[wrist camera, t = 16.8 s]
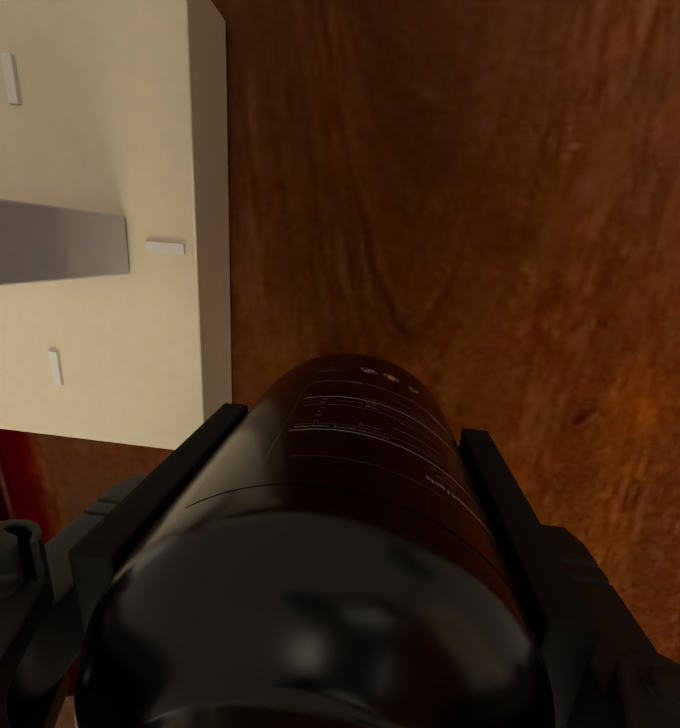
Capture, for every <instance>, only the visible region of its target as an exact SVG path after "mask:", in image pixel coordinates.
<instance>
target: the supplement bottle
mask: <svg viewBox="0 0 680 728" xmlns="http://www.w3.org/2000/svg"><path fill="white" fill-rule="evenodd" d="M74 707H75V726H76V728H556V719H555V707H554V697H553V691H552V686H551V681H550V677H549V673H548V669H547V666H546V663H545V660H544V657H543V654H542V651H541V649H540V646H539V644H538V641H537V638H536V634H535V632H534V629H533V627H532V624H531V622H530V619H529V616H528V614H527V611H526V609H525V607H524V604H523V602H522V599H521V597H520V594H519V592H518V590H517V587H516V585H515V582H514V580H513V578H512V575H511V573H510V570H509V568H508V566H507V563H506V561H505V558H504V556H503V554H502V551H501V549H500V546H499V544H498V542H497V539H496V537H495V534H494V532H493V530H492V527H491V525H490V522H489V520H488V518H487V515H486V513H485V510H484V508H483V506H482V503H481V501H480V498H479V496H478V494H477V491H476V489H475V486H474V484H473V482H472V479H471V477H470V474H469V472H468V470H467V467H466V465H465V462H464V460H463V458H462V455H461V453H460V450H459V448H458V446H457V443H456V441H455V438H454V436H453V434H452V431H451V429H450V426H449V424H448V422H447V420H446V418H445V416H444V414H443V412H442V410H441V408H440V406H439V405H438V403H437V402H436V400H435V399H434V397H433V396H432V394H431V393H430V392H429V391H428V390H427V388H426V387H425V386H424V385H423V384H422V383H421V382H420V381H419V380H417V379H416V378H415V377H414V376H412V375H411V374H410V373H408V372H407V371H405V370H404V369H402V368H400V367H398V366H396V365H395V364H393V363H390V362H388V361H385V360H383V359H379V358H376V357H373V356H367V355H362V354H348V353H342V354H331V355H326V356H321V357H318V358H314V359H311V360H309V361H306V362H304V363H302V364H300V365H298V366H296V367H294V368H293V369H291V370H290V371H288V372H287V373H285V374H284V375H283V376H282V377H280V378H279V379H278V380H277V381H276V382H275V383H274V384H273V385H272V386H271V387H270V388H269V389H268V390H267V391H266V392H265V393H264V395H263V396H262V397H261V398H260V399H259V400H258V401H257V403H256V404H255V405H254V406H253V407H252V408H251V410H250V411H249V412H248V413H247V414H246V416H245V417H244V418H243V419H242V420H241V422H240V423H239V424H238V425H237V426H236V427H235V429H234V430H233V431H232V432H231V433H230V435H229V436H228V437H227V438H226V439H225V441H224V442H223V443H222V444H221V445H220V447H219V448H218V449H217V450H216V451H215V452H214V454H213V455H212V456H211V457H210V458H209V460H208V461H207V462H206V463H205V464H204V466H203V467H202V468H201V469H200V470H199V471H198V473H197V474H196V475H195V476H194V477H193V479H192V480H191V481H190V482H189V483H188V485H187V486H186V487H185V488H184V489H183V491H182V492H181V493H180V494H179V495H178V496H177V498H176V499H175V500H174V501H173V502H172V504H171V505H170V506H169V507H168V508H167V510H166V511H165V512H164V513H163V514H162V516H161V517H160V518H159V519H158V520H157V521H156V523H155V524H154V525H153V526H152V527H151V529H150V530H149V531H148V532H147V533H146V535H145V536H144V537H143V538H142V539H141V541H140V542H139V543H138V544H137V546H136V547H135V548H134V549H133V551H132V552H131V553H130V555H129V556H128V557H127V558H126V560H125V561H124V563H123V564H122V565H121V567H120V568H119V569H118V571H117V572H116V573H115V575H114V576H113V577H112V579H111V580H110V582H109V583H108V585H107V586H106V588H105V590H104V592H103V593H102V595H101V597H100V598H99V600H98V602H97V604H96V606H95V609H94V611H93V614H92V616H91V619H90V621H89V624H88V627H87V630H86V633H85V636H84V640H83V644H82V648H81V652H80V656H79V661H78V666H77V673H76V683H75V694H74Z"/></svg>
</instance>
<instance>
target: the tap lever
mask: <svg viewBox="0 0 680 728" xmlns="http://www.w3.org/2000/svg"><path fill="white" fill-rule="evenodd" d="M128 274H129V265H128V253H127V241H126V228H125V218H124V216H122V215H115V214H108V213H101V212H93V211H86V210H79V209H72V208H64V207H57V206H50V205H43V204H36V203H28V202H21V201H14V200H7V199H0V286H9V285H20V284H31V283H42V282H53V281H64V280H76V279H87V278H98V277H109V276H120V275H128Z"/></svg>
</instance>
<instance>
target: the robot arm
mask: <svg viewBox="0 0 680 728" xmlns="http://www.w3.org/2000/svg"><path fill="white" fill-rule="evenodd" d="M246 414H247V405H241V404H232V403H224V404H223V405H222V406H221V407H220V408H219V409H218V410H217V411H216V412H215V413H214V414H213V415H212V416H211V417H210V418H208V419H207V420H206V421H205V422H204V423H203V424H202V425H201V426H200V427H199V428H198V429H197V430H196V431H195V432H194V433H193V434H192V435H190V436H189V437H188V438H187V439H186V440H185V441H184V442H183V443H182V444H181V445H180V446H179V447H178V448H177V449H176V450H175V451H174V452H172V453H171V454H170V455H169V456H168V457H167V458H166V459H165V460H164V461H163V462H162V463H161V464H160V465H159V466H158V467H157V468H156V469H155V470H153V471H152V472H151V473H150V474H149V475H148V476H144V475H136V474H135V475H133V476H131V477H129V478H127V479H125V480H123V481H121V482H119V483H117V484H115V485H113V486H112V487H111V488H110V489H109V490H108V491H106V492H105V493H104V494H103V495H102V496H101V497H99V498H98V501H97V502H94V503H92V504H91V505H90V506H89V507H88V508H87V509H85V510H84V513H83V514H80V515H79V516H77V517H76V518H75V519H74V520H73V521H72V522H70V523H69V524H68V525H67V526H66V527H65V528H63V529H62V530H61V531H60V532H59V533H58V534H56V535H55V536H54V537H53V538H52V539H51V540H49V541H48V542H47V543H46V544H45V545H44V540H43V534H42V531H41V528H40V526H39V524H38V523H35V522H33V521H30V520H23V519H11V520H6V521H1V522H0V728H54V726H55V724H56V721H57V718H58V716H59V713H60V711H61V708H62V705H63V703H64V700H65V698H66V695H67V692H68V687H69V682H70V677H69V672H68V669H69V667H70V666H71V665H72V663H73V662H74V661H75V659H76V658H77V657H78V655H79V654H80V652H81V648H82V644H83V640H84V636H85V633H86V630H87V627H88V624H89V621H90V619H91V616H92V614H93V611H94V609H95V606H96V604H97V602H98V600H99V598H100V597H101V595H102V593H103V592H104V590H105V588H106V586H107V585H108V583H109V582H110V580H111V579H112V577H113V576H114V575H115V573H116V572H117V571H118V569H119V568H120V567H121V565H122V564H123V563H124V561H125V560H126V558H127V557H128V556H129V555H130V553H131V552H132V551H133V549H134V548H135V547H136V546H137V544H138V543H139V542H140V541H141V539H142V538H143V537H144V536H145V535H146V533H147V532H148V531H149V530H150V529H151V527H152V526H153V525H154V524H155V523H156V521H157V520H158V519H159V518H160V517H161V516H162V514H163V513H164V512H165V511H166V510H167V508H168V507H169V506H170V505H171V504H172V502H173V501H174V500H175V499H176V498H177V496H178V495H179V494H180V493H181V492H182V491H183V489H184V488H185V487H186V486H187V485H188V483H189V482H190V481H191V480H192V479H193V477H194V476H195V475H196V474H197V473H198V471H199V470H200V469H201V468H202V467H203V466H204V464H205V463H206V462H207V461H208V460H209V458H210V457H211V456H212V455H213V454H214V452H215V451H216V450H217V449H218V448H219V447H220V445H221V444H222V443H223V442H224V441H225V439H226V438H227V437H228V436H229V435H230V433H231V432H232V431H233V430H234V429H235V427H236V426H237V425H238V424H239V423H240V422H241V420H242V419H243V418H244V417H245V416H246ZM459 450H460V453H461V455H462V458H463V460H464V462H465V465H466V467H467V470H468V472H469V474H470V477H471V479H472V482H473V484H474V486H475V489H476V491H477V494H478V496H479V498H480V501H481V503H482V506H483V508H484V510H485V513H486V515H487V518H488V520H489V522H490V525H491V527H492V530H493V532H494V534H495V537H496V539H497V542H498V544H499V546H500V549H501V551H502V554H503V556H504V558H505V561H506V563H507V566H508V568H509V570H510V573H511V575H512V578H513V580H514V582H515V585H516V587H517V590H518V592H519V594H520V597H521V599H522V602H523V604H524V607H525V609H526V611H527V614H528V616H529V619H530V622H531V624H532V627H533V629H534V632H535V634H536V638H537V641H538V644H539V646H540V649H541V651H542V654H543V657H544V660H545V663H546V666H547V669H548V673H549V677H550V681H551V686H552V691H553V697H554V707H555V719H556V728H680V664H678V663H676V662H674V661H672V660H670V659H668V658H666V657H664V656H662V655H661V654H658V652H657V651H656V649H655V648H654V646H653V645H652V643H651V642H650V641H649V639H648V638H647V636H646V635H645V633H644V632H643V630H642V629H641V627H640V626H639V624H638V623H637V621H636V620H635V619H634V617H633V616H632V614H631V613H630V611H629V610H628V608H627V607H626V605H625V604H624V602H623V601H622V599H621V598H620V597H619V595H618V594H617V592H616V591H615V589H614V588H613V586H611V585H609V580H608V579H607V577H606V576H605V575H604V573H603V572H602V570H601V569H600V568H598V564H597V563H596V561H595V560H594V558H593V557H592V556H591V554H590V553H589V551H588V550H587V548H586V547H585V545H584V544H583V543H581V542H580V541H579V540H578V539H577V538H576V537H574V536H573V535H572V534H571V533H570V532H569V531H567V530H566V529H565V528H563V527H555V526H547V525H541V524H540V522H539V520H538V519H537V517H536V515H535V513H534V512H533V510H532V508H531V506H530V505H529V503H528V501H527V499H526V498H525V496H524V494H523V492H522V491H521V489H520V487H519V485H518V484H517V482H516V480H515V479H514V477H513V475H512V473H511V472H510V470H509V468H508V466H507V465H506V463H505V461H504V459H503V458H502V456H501V454H500V452H499V451H498V449H497V447H496V445H495V444H494V442H493V440H492V438H491V437H490V435H489V433H488V431H482V430H473V429H464V428H462V433H461V439H460V445H459Z"/></svg>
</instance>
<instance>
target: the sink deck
mask: <svg viewBox="0 0 680 728" xmlns="http://www.w3.org/2000/svg"><path fill="white" fill-rule="evenodd" d="M0 199H7V200H14V201H21V202H28V203H36V204H43V205H50V206H57V207H64V208H72V209H79V210H86V211H93V212H101V213H108V214H115V215H122V216H124V218H125V228H126V241H127V253H128V265H129V274H128V275H120V276H109V277H98V278H87V279H76V280H64V281H53V282H42V283H31V284H20V285H9V286H0V429H8V430H16V431H24V432H33V433H41V434H49V435H57V436H65V437H74V438H82V439H90V440H98V441H107V442H115V443H123V444H131V445H140V446H148V447H156V448H164V449H173V450H176V449H177V448H178V447H179V446H180V445H181V444H182V443H183V442H184V441H185V440H186V439H187V438H188V437H189V436H190V435H192V434H193V433H194V432H195V431H196V430H197V429H198V428H199V427H200V426H201V425H202V424H203V423H204V422H205V421H206V420H207V419H208V418H210V417H211V416H212V415H213V414H214V413H215V412H216V411H217V410H218V409H219V408H220V407H221V406H222V405H223V404H224V403H232V380H231V319H230V258H229V197H228V136H227V75H226V21H225V19H224V18H223V16H222V15H221V14H220V12H219V11H218V9H217V8H216V6H215V5H214V3H213V2H212V1H211V0H0Z"/></svg>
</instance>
